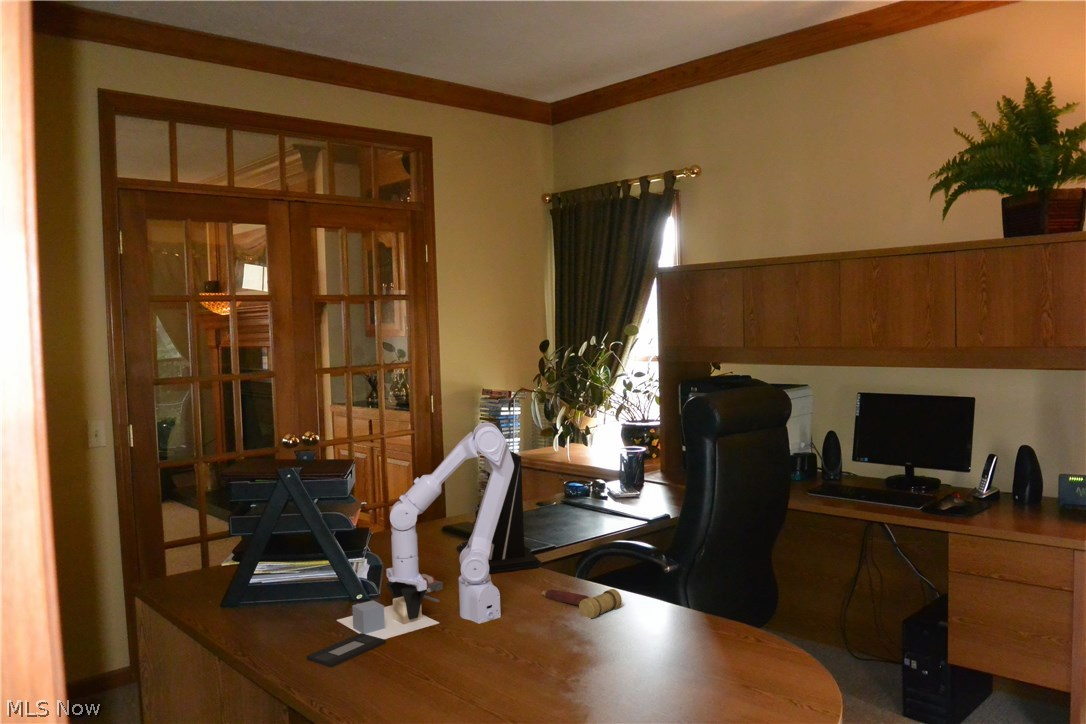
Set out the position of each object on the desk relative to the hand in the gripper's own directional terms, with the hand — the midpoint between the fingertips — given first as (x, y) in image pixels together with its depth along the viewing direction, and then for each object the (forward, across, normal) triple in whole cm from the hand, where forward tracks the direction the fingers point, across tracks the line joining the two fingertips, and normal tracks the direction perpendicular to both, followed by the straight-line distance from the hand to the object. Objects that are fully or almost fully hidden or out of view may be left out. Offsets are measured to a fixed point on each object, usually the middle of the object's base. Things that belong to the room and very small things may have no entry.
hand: (407, 615), depth 186 cm
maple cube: (+1, 0, 0) cm, 1 cm away
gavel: (+3, +16, +35) cm, 39 cm away
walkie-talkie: (+2, -16, +14) cm, 21 cm away
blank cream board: (+2, -2, -4) cm, 5 cm away
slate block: (+1, -1, -9) cm, 9 cm away
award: (+2, -29, +46) cm, 55 cm away
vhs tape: (+2, +8, -18) cm, 20 cm away
